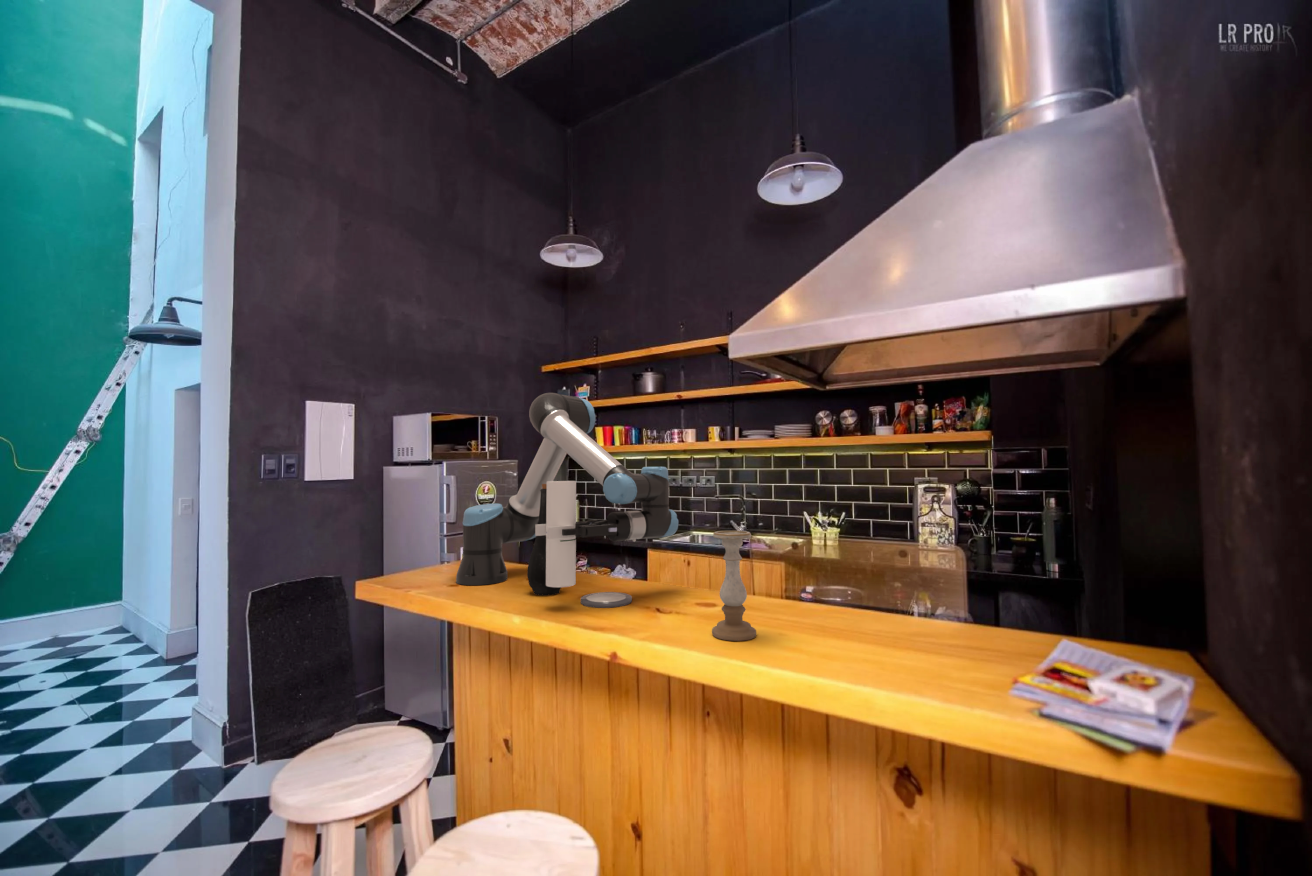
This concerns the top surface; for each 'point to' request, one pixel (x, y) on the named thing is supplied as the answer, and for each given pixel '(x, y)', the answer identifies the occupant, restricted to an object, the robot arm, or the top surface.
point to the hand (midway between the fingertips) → (541, 531)
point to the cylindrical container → (561, 549)
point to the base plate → (606, 599)
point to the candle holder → (733, 591)
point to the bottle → (540, 556)
